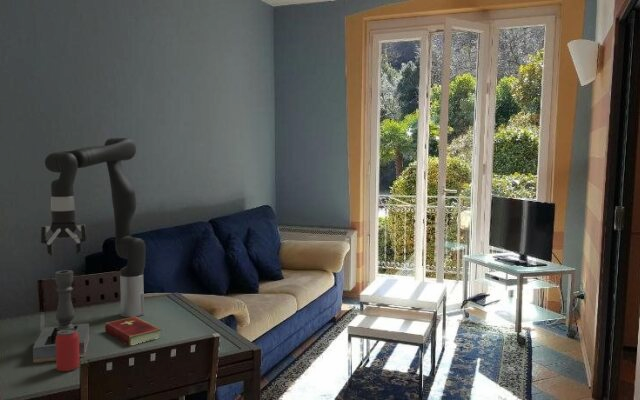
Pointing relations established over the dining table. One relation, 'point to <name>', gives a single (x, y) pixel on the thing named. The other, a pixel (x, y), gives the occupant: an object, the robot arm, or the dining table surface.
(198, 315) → the dining table surface
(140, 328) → the hardcover book
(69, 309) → the candle holder
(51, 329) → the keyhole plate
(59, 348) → the beer can
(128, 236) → the robot arm
